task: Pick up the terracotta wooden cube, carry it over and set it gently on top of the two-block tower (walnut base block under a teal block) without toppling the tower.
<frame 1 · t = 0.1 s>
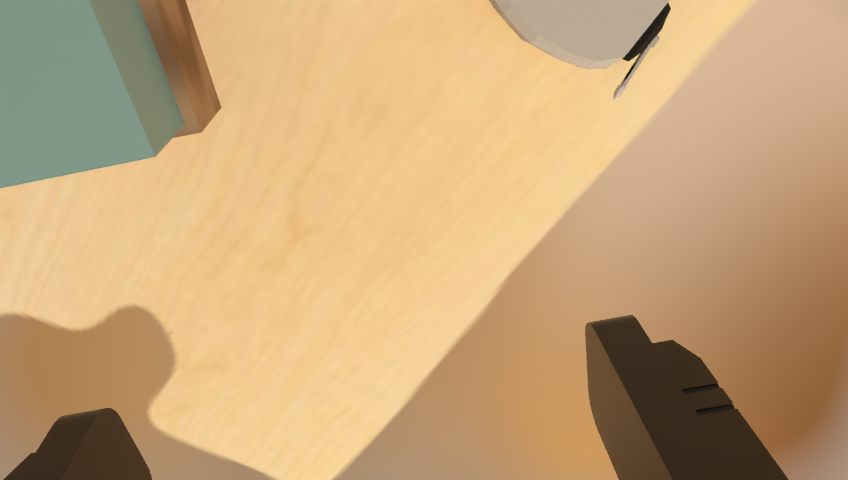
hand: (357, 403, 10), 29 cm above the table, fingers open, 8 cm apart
tower top: (78, 63, 31), point 5 cm above the table, touching tower base
tower base: (120, 44, 35), on the table, touching tower top
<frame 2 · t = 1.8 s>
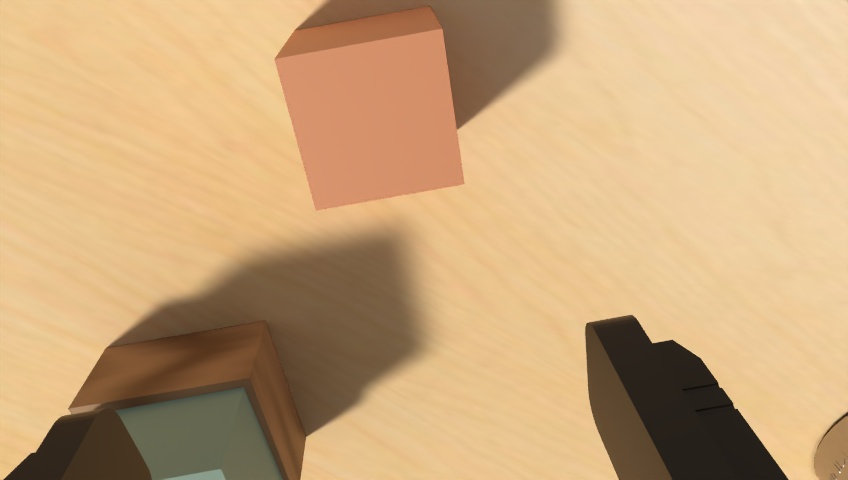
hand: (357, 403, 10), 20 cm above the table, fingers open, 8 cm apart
terracotta cube: (375, 85, 28), on the table
tower top: (193, 458, 32), point 5 cm above the table, touching tower base
tower base: (212, 391, 36), on the table, touching tower top
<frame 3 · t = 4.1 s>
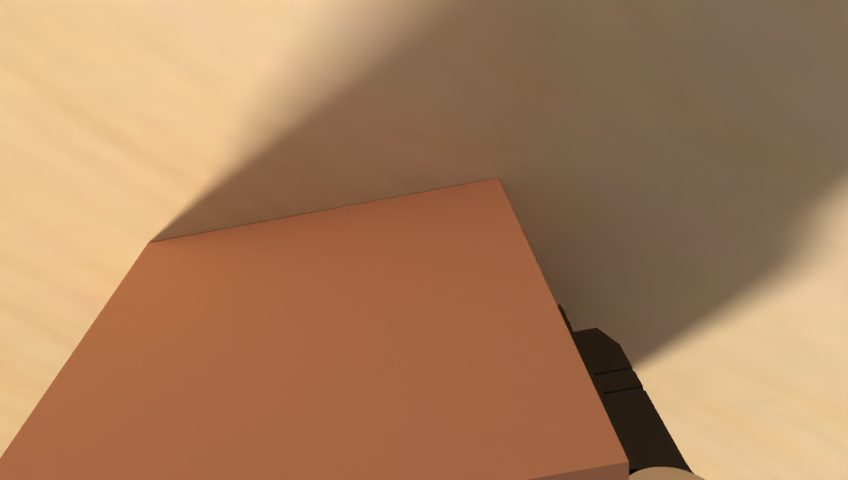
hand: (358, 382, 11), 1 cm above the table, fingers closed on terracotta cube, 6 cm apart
terracotta cube: (361, 349, 12), on the table, touching gripper
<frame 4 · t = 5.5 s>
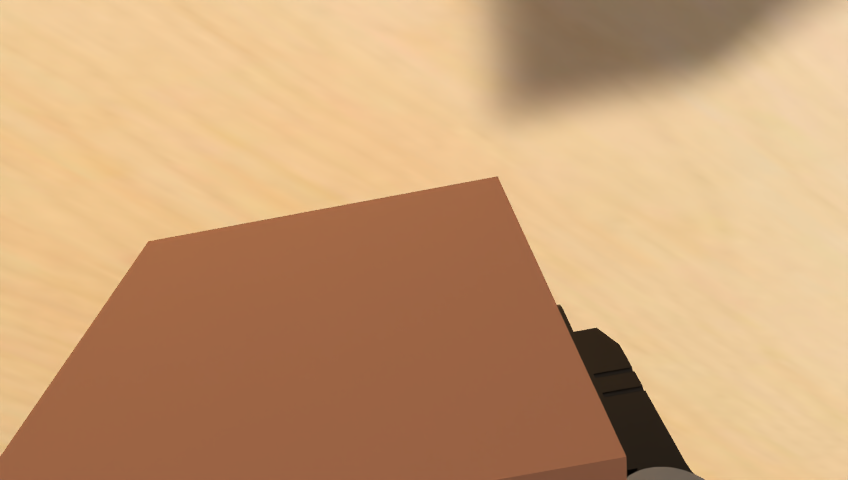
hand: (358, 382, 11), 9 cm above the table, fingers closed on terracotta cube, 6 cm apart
terracotta cube: (360, 348, 12), point 8 cm above the table, touching gripper
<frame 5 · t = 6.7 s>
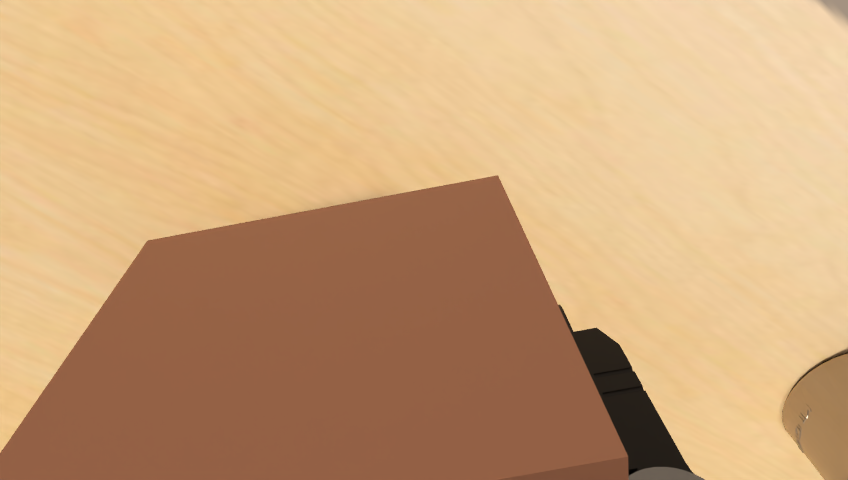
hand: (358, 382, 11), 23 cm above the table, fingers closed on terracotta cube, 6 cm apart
terracotta cube: (360, 347, 12), point 23 cm above the table, touching gripper
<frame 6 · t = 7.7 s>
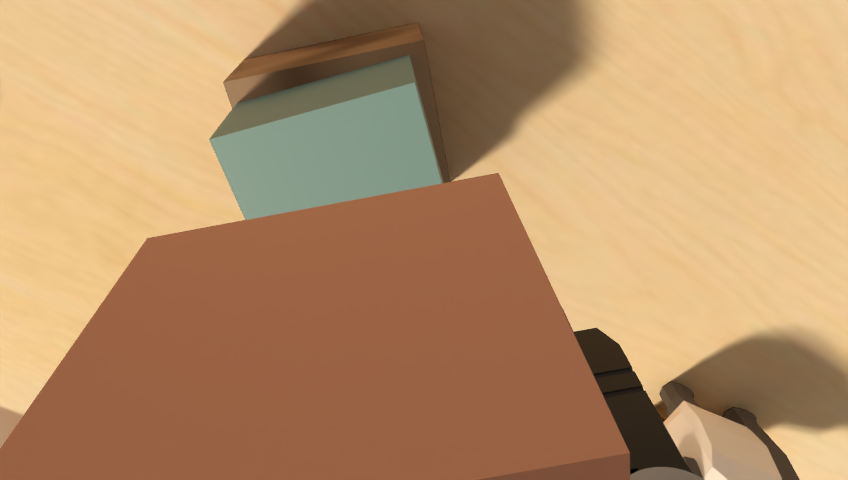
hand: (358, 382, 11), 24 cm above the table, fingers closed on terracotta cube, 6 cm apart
terracotta cube: (360, 345, 12), point 23 cm above the table, touching gripper
tower top: (350, 161, 29), point 5 cm above the table, touching tower base
tower base: (352, 124, 33), on the table, touching tower top
giant panda: (705, 423, 46), on the table
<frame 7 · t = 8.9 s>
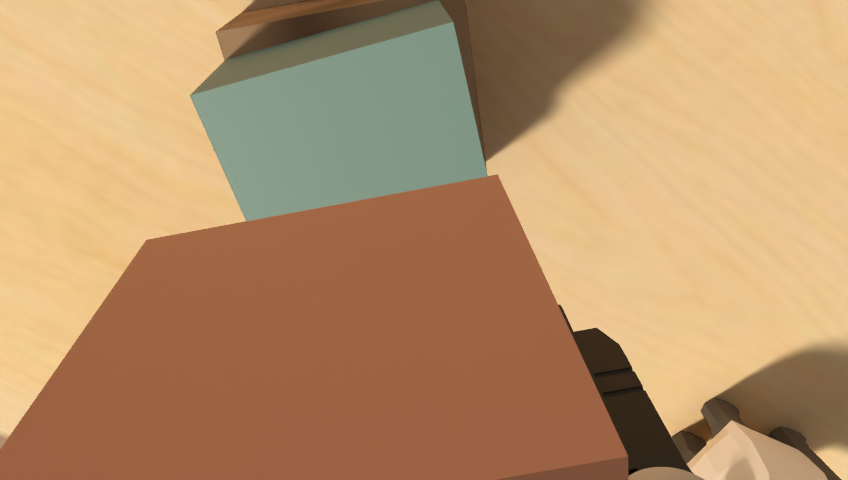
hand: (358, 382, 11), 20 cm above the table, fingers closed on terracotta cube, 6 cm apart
terracotta cube: (360, 347, 12), point 19 cm above the table, touching gripper
tower top: (363, 132, 24), point 5 cm above the table, touching tower base
tower base: (367, 94, 28), on the table, touching tower top
giant panda: (748, 444, 41), on the table
when the fingers open (12 cm above the table, at t = 10.7 s): terracotta cube drops 1 cm, resting on tower top.
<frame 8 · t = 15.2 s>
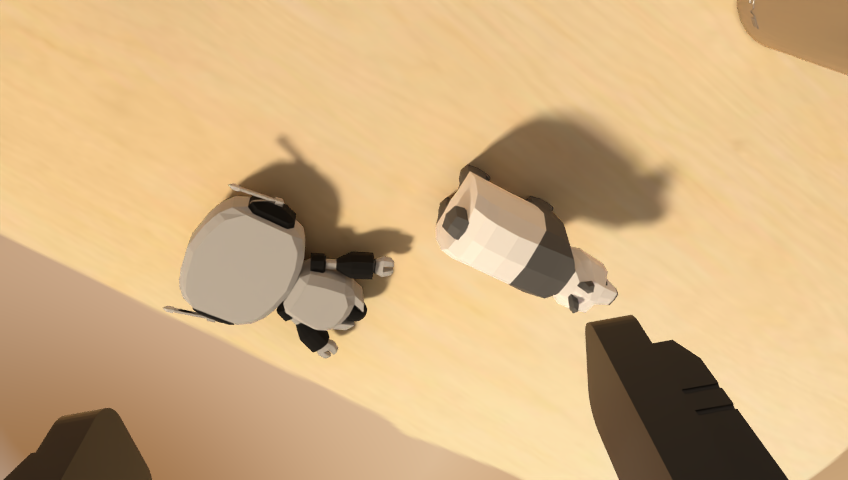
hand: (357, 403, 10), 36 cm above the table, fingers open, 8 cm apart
robot toy: (286, 261, 51), on the table
giant panda: (508, 215, 50), on the table
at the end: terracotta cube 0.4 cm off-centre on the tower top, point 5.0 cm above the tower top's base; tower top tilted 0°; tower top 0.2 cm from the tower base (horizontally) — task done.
